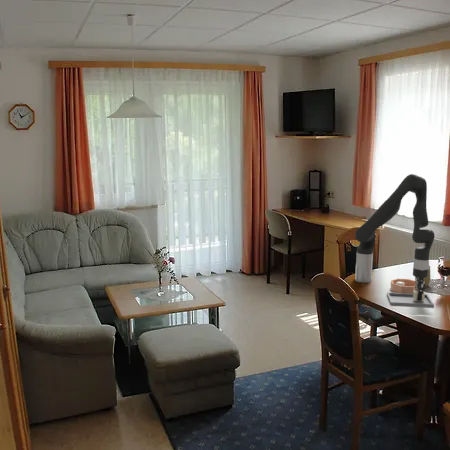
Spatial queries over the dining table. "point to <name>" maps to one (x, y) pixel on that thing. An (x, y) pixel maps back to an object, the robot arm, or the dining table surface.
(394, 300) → the parts tray
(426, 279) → the squeeze bottle
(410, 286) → the bowl
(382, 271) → the dining table surface
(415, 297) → the sandy stone
